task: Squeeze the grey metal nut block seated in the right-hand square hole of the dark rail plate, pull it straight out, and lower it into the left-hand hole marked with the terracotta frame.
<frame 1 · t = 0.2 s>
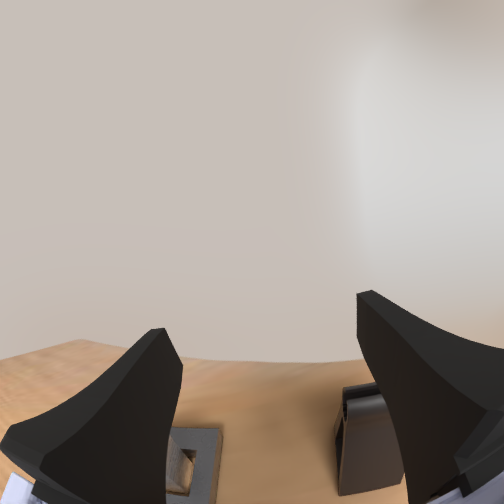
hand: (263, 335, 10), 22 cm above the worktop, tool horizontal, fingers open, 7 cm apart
phone stand: (365, 456, 20), on the worktop
nut block: (173, 476, 21), resting in rail plate
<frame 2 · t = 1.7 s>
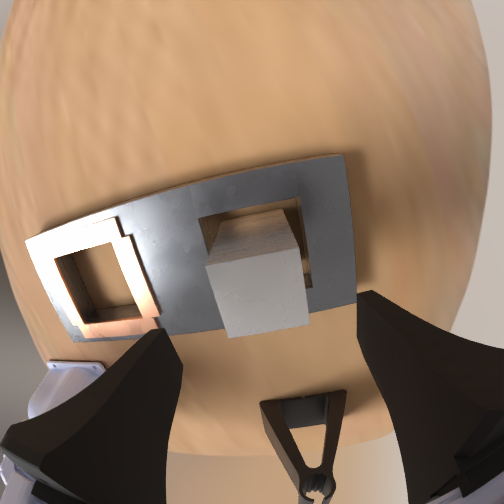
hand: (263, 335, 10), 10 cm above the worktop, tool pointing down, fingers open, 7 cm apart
phone stand: (303, 410, 26), on the worktop
rail plate: (174, 260, 19), on the worktop
nut block: (257, 242, 19), resting in rail plate
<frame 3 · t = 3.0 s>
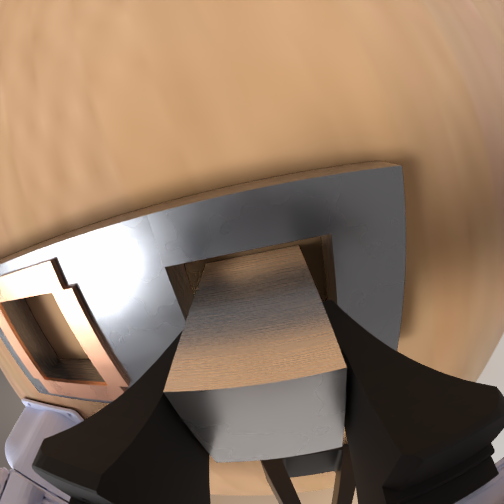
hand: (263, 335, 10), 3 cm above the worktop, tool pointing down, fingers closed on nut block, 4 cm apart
phone stand: (310, 460, 20), on the worktop
rail plate: (143, 313, 13), on the worktop
nut block: (260, 294, 12), resting in rail plate, touching gripper
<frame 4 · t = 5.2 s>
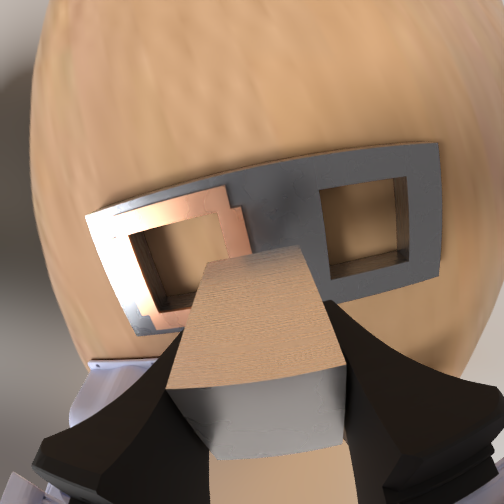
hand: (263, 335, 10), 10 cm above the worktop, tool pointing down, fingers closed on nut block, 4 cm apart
rail plate: (275, 236, 19), on the worktop
nut block: (261, 293, 13), point 7 cm above the worktop, touching gripper
when the fingers open (4 cm above the worktop, at t = 7.5 s): nut block stays where it is, resting in rail plate.
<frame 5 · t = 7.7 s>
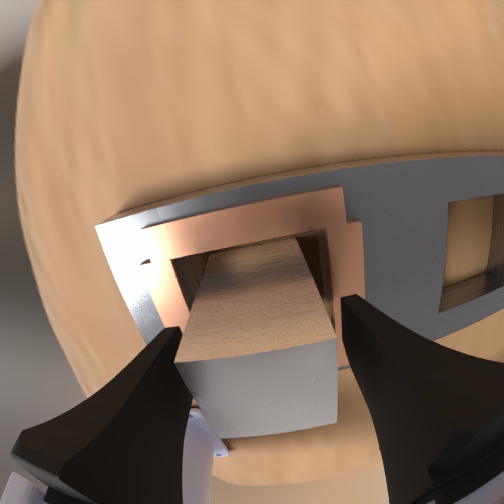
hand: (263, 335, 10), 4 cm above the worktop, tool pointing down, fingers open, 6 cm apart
rail plate: (377, 259, 13), on the worktop
nut block: (260, 283, 13), resting in rail plate
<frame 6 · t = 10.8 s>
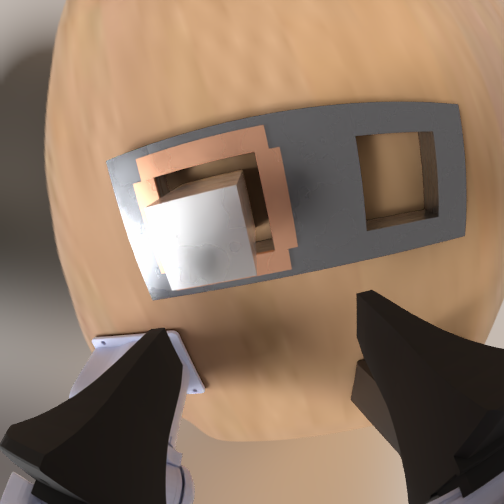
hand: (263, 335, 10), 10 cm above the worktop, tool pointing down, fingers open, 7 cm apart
phone stand: (391, 369, 24), on the worktop
rail plate: (308, 187, 17), on the worktop
nut block: (219, 205, 18), resting in rail plate
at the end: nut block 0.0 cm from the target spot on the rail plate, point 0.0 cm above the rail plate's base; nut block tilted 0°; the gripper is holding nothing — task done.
